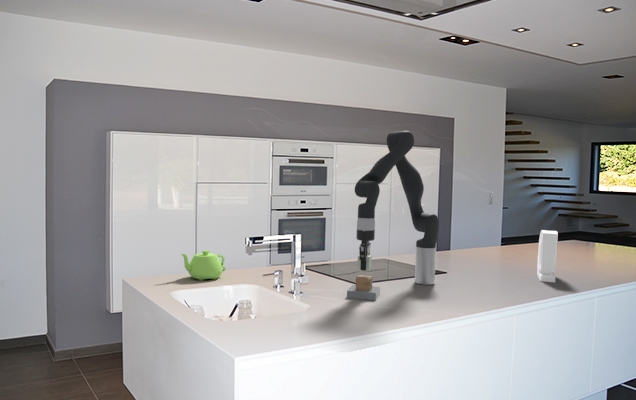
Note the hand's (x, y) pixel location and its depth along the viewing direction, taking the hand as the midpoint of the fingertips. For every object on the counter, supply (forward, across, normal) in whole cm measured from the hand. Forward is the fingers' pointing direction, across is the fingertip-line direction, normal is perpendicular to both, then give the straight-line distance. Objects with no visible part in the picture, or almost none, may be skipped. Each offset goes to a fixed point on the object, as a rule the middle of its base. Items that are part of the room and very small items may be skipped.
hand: (364, 268), depth 220 cm
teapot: (+12, -7, -78) cm, 79 cm away
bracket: (+11, -72, +82) cm, 110 cm away
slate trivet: (+11, 0, 0) cm, 11 cm away
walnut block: (+8, 0, 0) cm, 8 cm away
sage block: (0, 0, 0) cm, 0 cm away
